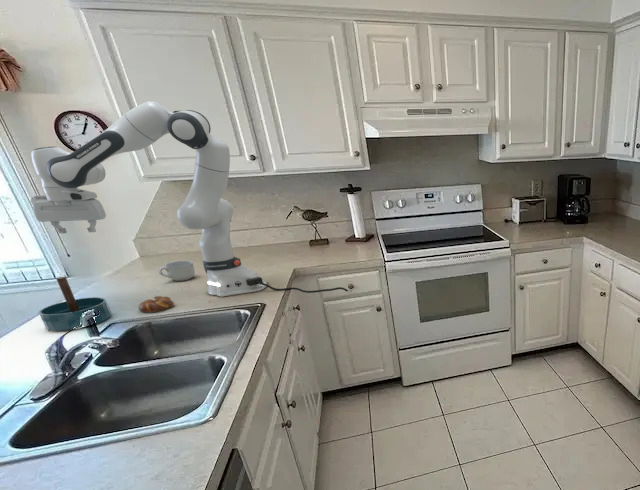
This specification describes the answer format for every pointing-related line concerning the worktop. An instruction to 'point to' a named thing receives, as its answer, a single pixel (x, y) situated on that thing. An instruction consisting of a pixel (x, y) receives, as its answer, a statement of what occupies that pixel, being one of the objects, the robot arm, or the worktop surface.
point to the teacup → (178, 270)
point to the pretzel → (156, 304)
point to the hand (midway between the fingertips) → (78, 232)
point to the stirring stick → (68, 294)
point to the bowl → (73, 313)
